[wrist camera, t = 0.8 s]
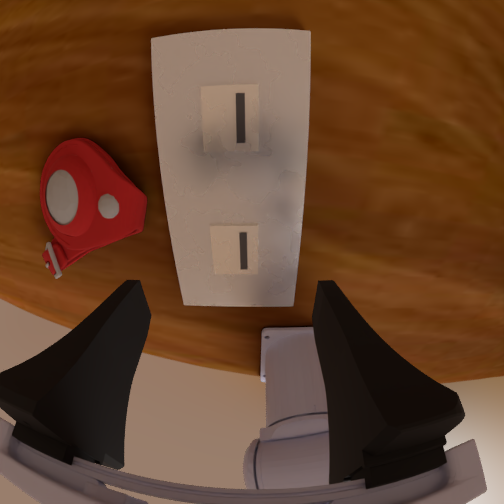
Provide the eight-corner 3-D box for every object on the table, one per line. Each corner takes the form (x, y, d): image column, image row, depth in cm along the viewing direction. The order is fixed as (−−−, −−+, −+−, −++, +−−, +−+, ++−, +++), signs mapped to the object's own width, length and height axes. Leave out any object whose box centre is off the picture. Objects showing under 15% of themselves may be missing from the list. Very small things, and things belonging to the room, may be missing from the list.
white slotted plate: (292, 298, 24) (293, 308, 23) (186, 296, 24) (183, 307, 23) (307, 33, 13) (311, 30, 12) (156, 40, 13) (149, 38, 12)
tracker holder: (32, 135, 15) (128, 145, 14) (70, 134, 19) (165, 147, 18) (30, 280, 19) (115, 328, 18) (63, 263, 23) (145, 301, 22)
